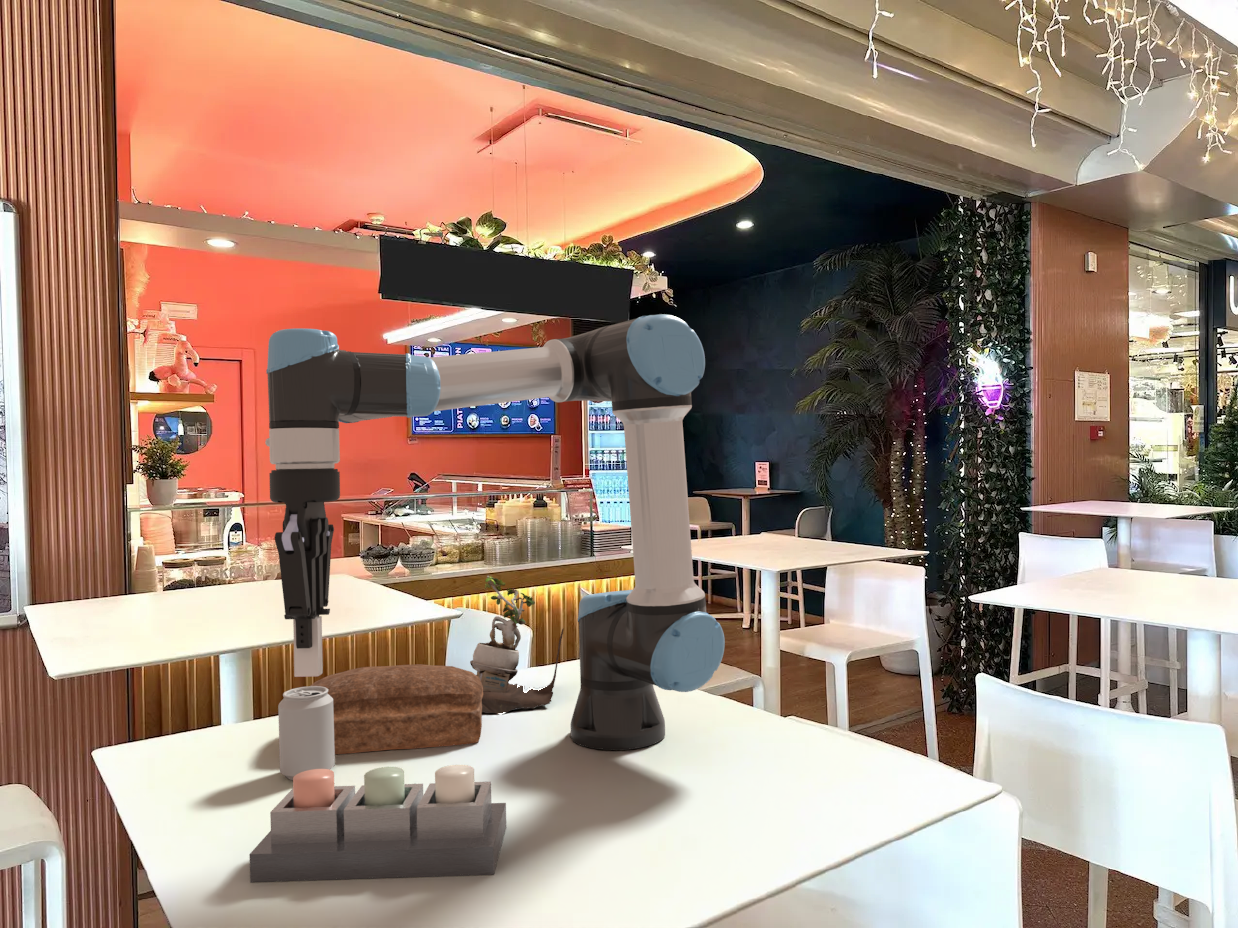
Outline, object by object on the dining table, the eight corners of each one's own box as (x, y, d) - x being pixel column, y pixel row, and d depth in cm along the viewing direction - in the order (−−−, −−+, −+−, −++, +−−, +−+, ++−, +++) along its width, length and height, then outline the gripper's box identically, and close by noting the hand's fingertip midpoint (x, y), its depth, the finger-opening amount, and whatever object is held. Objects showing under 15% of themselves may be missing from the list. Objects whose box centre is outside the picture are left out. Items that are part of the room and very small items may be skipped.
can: (317, 783, 122) (315, 698, 122) (269, 781, 124) (267, 696, 124) (344, 765, 130) (342, 684, 129) (298, 762, 131) (296, 682, 131)
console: (506, 827, 106) (505, 773, 106) (493, 874, 94) (492, 813, 94) (290, 834, 106) (289, 780, 106) (250, 882, 94) (248, 821, 94)
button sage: (408, 804, 102) (407, 766, 102) (400, 820, 98) (399, 779, 98) (371, 805, 102) (370, 767, 102) (360, 821, 98) (359, 781, 98)
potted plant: (453, 700, 173) (484, 576, 177) (546, 721, 173) (575, 596, 177) (438, 711, 153) (474, 571, 157) (543, 735, 153) (576, 594, 158)
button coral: (339, 806, 102) (338, 768, 102) (328, 822, 98) (326, 781, 98) (301, 807, 102) (300, 769, 102) (288, 823, 98) (287, 783, 97)
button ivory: (477, 802, 102) (476, 763, 102) (472, 817, 98) (471, 777, 98) (439, 803, 102) (438, 765, 102) (432, 819, 98) (431, 778, 98)
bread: (309, 728, 149) (307, 661, 149) (483, 715, 154) (482, 650, 154) (288, 761, 133) (286, 686, 132) (484, 746, 137) (482, 673, 137)
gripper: (292, 467, 106) (295, 662, 106) (248, 468, 93) (252, 690, 93) (354, 466, 106) (358, 661, 106) (319, 466, 93) (323, 688, 93)
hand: (308, 674), depth 99 cm, fingers closed
